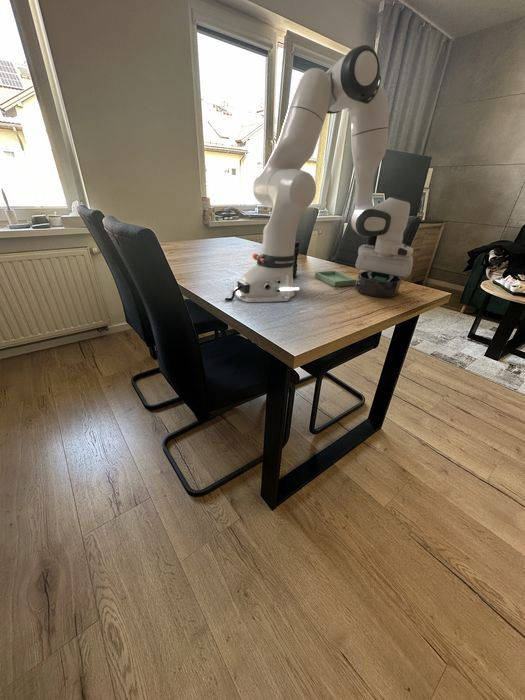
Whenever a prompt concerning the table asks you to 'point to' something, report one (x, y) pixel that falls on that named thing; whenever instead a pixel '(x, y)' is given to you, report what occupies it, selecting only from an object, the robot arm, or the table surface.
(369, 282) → the bowl
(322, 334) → the table surface
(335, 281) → the dish
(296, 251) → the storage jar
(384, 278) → the sponge
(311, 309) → the table surface
